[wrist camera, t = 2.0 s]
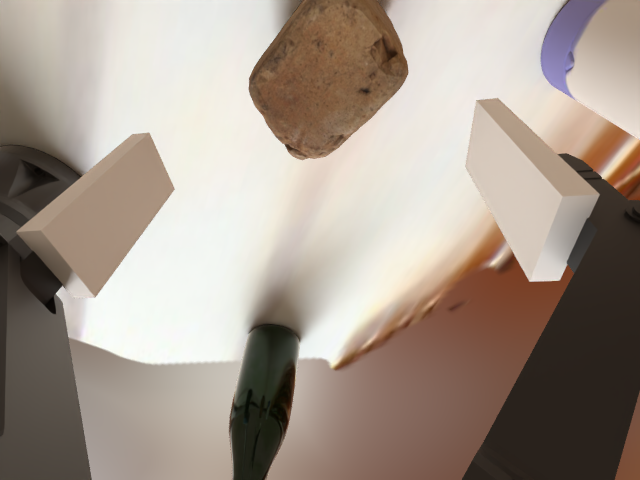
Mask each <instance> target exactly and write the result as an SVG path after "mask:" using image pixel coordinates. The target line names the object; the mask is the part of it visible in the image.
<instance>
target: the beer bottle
mask: <svg viewBox="0 0 640 480" xmlns="http://www.w3.org/2000/svg"><path fill="white" fill-rule="evenodd" d="M299 349H300V342H299V339H298V337H297V335H296V334H295V333H294V332H292V331H291V330H289V329H287V328H285V327H282V326H277V325H263V326H259V327H257V328H255V329H253V330H252V331H251V332H250V333H249V335H248V338H247V341H246V345H245V349H244V353H243V357H242V362H241V366H240V370H239V375H238V379H237V384H236V388H235V392H234V397H233V402H232V407H231V413H230V420H229V436H230V447H231V457H232V480H266V479H267V476H268V474H269V471H270V469H271V466H272V464H273V462H274V460H275V458H276V455H277V454H278V452H279V450H280V448H281V445H282V443H283V441H284V439H285V436H286V433H287V429H288V425H289V421H290V415H291V409H292V402H293V396H294V388H295V381H296V373H297V366H298V358H299Z"/></svg>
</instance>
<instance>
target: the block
mask: <svg viewBox="0 0 640 480" xmlns="http://www.w3.org/2000/svg"><path fill="white" fill-rule="evenodd" d="M407 75H408V65H407V60H406V58H405V57H404V54H403V48H402V44H401V42H400V39H399V37H398V35H397V33H396V31H395V29H394V27H393V24H392V22H391V20H390V19H389V17H388V16H387V14H386V13H385V11H384V10H383V8H382V7H381V5H380V4H379V3H378V1H377V0H303V1H302V3H301V4H300V5H299V7H298V8H297V9H296V11H295V12H294V13H293V15H292V16H291V17H290V19H289V20H288V21H287V23H286V24H285V25H284V27H283V28H282V29H281V31H280V32H279V33H278V35H277V36H276V38H275V39H274V40H273V42H272V43H271V44H270V46H269V47H268V48H267V50H266V51H265V52H264V54H263V55H262V57H261V58H260V59H259V61H258V62H257V64H256V65H255V67H254V69H253V71H252V73H251V75H250V78H249V92H250V96H251V98H252V100H253V103H254V105H255V107H256V108H257V109H258V110H259V112H260V113H261V114H262V115H263V117H264V119H265V121H266V123H267V125H268V126H269V128H270V129H271V131H272V132H273V133H274V135H275V136H276V137H277V138H278V139H279V140H280V141H281V142H282V143H283V144H285V146H286V148H287V150H288V152H289V153H290V154H291V155H292V156H293V157H295V158H297V159H301V160H304V159H307V158H313V159H316V158H321V157H325V156H327V155H328V154H330V153H331V152H333V151H334V150H336V149H337V148H339V147H340V146H341V145H342V144H343V143H344V142H345V141H346V140H347V139H348V138H349V137H350V136H351V135H352V134H353V133H354V132H356V131H357V130H358V129H359V128H360V127H361V126H362V125H363V124H365V123H366V122H367V121H368V120H369V119H371V118H372V117H373V116H374V115H375V114H376V112H377V111H378V110H379V109H380V108H381V107H382V106H383V105H384V104H385V103H386V102H387V101H388V100H389V99H390V98H391V97H392V96H393V95H394V94H395V93H396V92H397V91H398V90H399V89H400V88H401V86H402V85H403V83H404V81H405V79H406V77H407Z"/></svg>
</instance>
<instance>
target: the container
mask: <svg viewBox="0 0 640 480" xmlns="http://www.w3.org/2000/svg"><path fill="white" fill-rule="evenodd" d="M541 66H542V71H543V73H544V76H545V78H546V79H547V81H548V82H549V83H550V84H551V85H552V86H554V87H555V88H557V89H558V90H560V91H562V92H563V93H565V94H567V95H568V96H570V97H571V98H573V99H575V100H576V101H578V102H579V103H581V104H583V105H584V106H586V107H587V108H589V109H591V110H592V111H594V112H596V113H597V114H599V115H600V116H602V117H604V118H605V119H607V120H608V121H610V122H612V123H613V124H615V125H617V126H618V127H620V128H621V129H623V130H625V131H626V132H628V133H629V134H631V135H633V136H634V137H636V138H638V139H639V140H640V0H570V1H569V2H568V3H567V4H566V5H565V6H564V7H563V8H562V10H561V11H560V12H559V13H558V15H557V16H556V18H555V19H554V21H553V22H552V24H551V26H550V28H549V30H548V32H547V34H546V37H545V39H544V43H543V46H542V52H541Z"/></svg>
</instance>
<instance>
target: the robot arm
mask: <svg viewBox="0 0 640 480" xmlns="http://www.w3.org/2000/svg"><path fill="white" fill-rule="evenodd" d="M465 167H466V169H467V171H468V173H469V175H470V176H471V178H472V180H473V182H474V183H475V185H476V187H477V189H478V191H479V192H480V194H481V196H482V198H483V199H484V201H485V203H486V205H487V207H488V208H489V210H490V212H491V214H492V215H493V217H494V219H495V221H496V223H497V224H498V226H499V228H500V230H501V231H502V233H503V235H504V237H505V239H506V240H507V242H508V244H509V246H510V247H511V249H512V251H513V253H514V255H515V256H516V258H517V260H518V262H519V263H520V265H521V267H522V269H523V271H524V272H525V274H526V276H527V278H528V279H529V281H557V280H560V279H561V276H562V274H563V272H564V270H565V268H566V266H567V264H568V265H569V267H570V268H571V269H572V271H573V272H574V275H573V277H572V279H571V280H570V282H569V284H568V286H567V288H566V290H565V292H564V294H563V295H562V297H561V299H560V301H559V303H558V305H557V306H556V308H555V310H554V312H553V314H552V316H551V318H550V320H549V321H548V323H547V325H546V327H545V329H544V331H543V332H542V334H541V336H540V338H539V340H538V342H537V344H536V345H535V347H534V349H533V351H532V353H531V355H530V357H529V358H528V360H527V362H526V364H525V366H524V368H523V370H522V371H521V373H520V375H519V377H518V379H517V381H516V383H515V384H514V386H513V388H512V390H511V392H510V394H509V396H508V398H507V399H506V401H505V403H504V405H503V407H502V409H501V410H500V412H499V414H498V416H497V418H496V420H495V422H494V424H493V425H492V427H491V429H490V431H489V433H488V435H487V436H486V438H485V440H484V442H483V444H482V445H481V447H480V449H479V450H478V452H477V453H476V455H475V457H474V458H473V460H472V462H471V464H470V466H469V467H468V470H467V471H466V473H465V475H464V477H463V478H462V480H615V476H616V472H617V469H618V466H619V462H620V459H621V455H622V451H623V448H624V444H625V441H626V437H627V434H628V430H629V427H630V423H631V420H632V416H633V413H634V409H635V405H636V402H637V398H638V395H639V391H640V201H639V200H628V199H626V198H625V197H624V196H623V195H622V194H621V193H619V192H618V191H617V190H616V189H615V188H614V187H613V186H611V185H610V184H609V183H608V182H607V181H606V180H604V179H602V177H601V176H600V175H599V174H598V173H596V172H593V169H592V168H591V167H589V166H588V165H587V164H586V163H585V162H584V161H582V160H580V159H578V158H576V157H573V156H571V155H569V154H567V153H566V154H557V153H555V152H554V151H553V150H552V149H551V148H550V147H549V146H548V145H547V144H546V143H545V142H544V141H543V140H542V139H541V138H540V137H539V136H537V135H536V134H535V133H534V132H533V131H532V130H531V129H530V128H529V127H528V126H527V125H526V124H525V123H524V122H523V121H522V120H520V119H519V118H518V117H517V116H516V115H515V114H514V113H513V112H512V111H511V110H510V109H509V108H508V107H507V106H506V105H505V104H503V103H502V102H501V101H500V100H499V99H498V98H495V99H485V100H476V105H475V111H474V117H473V123H472V129H471V135H470V141H469V147H468V153H467V159H466V165H465ZM173 191H174V187H173V184H172V182H171V180H170V178H169V175H168V173H167V171H166V169H165V167H164V164H163V162H162V160H161V158H160V155H159V153H158V151H157V149H156V147H155V144H154V142H153V140H152V138H151V136H150V133H142V134H132V135H131V136H130V137H129V138H128V139H126V140H125V141H124V142H123V143H122V144H120V145H119V146H118V147H117V148H116V149H114V150H113V151H112V152H111V153H110V154H108V155H107V156H106V157H105V158H104V159H102V160H101V161H100V162H99V163H98V164H96V165H95V166H94V167H93V168H92V169H90V170H89V171H88V172H87V173H86V174H84V175H83V176H82V177H80V176H79V175H78V174H76V173H75V172H74V171H73V170H72V169H71V168H69V167H68V166H67V165H65V164H64V163H62V162H61V161H59V160H57V159H56V158H54V157H52V156H50V155H48V154H46V153H43V152H41V151H38V150H35V149H32V148H29V147H24V146H17V145H6V146H0V480H92V479H91V473H90V467H89V460H88V455H87V449H86V442H85V436H84V430H83V424H82V418H81V412H80V406H79V400H78V394H77V388H76V383H75V376H74V370H73V364H72V358H71V351H70V346H69V339H68V333H67V327H66V321H65V315H64V309H63V303H62V301H61V300H60V298H59V297H58V296H57V295H56V292H57V291H58V290H59V289H60V288H61V287H62V285H63V287H64V288H65V289H66V290H67V291H68V292H69V294H70V295H71V296H72V297H73V298H95V297H96V296H97V294H98V293H99V292H100V290H101V289H102V288H103V286H104V285H105V283H106V282H107V281H108V279H109V278H110V277H111V275H112V274H113V273H114V271H115V270H116V268H117V267H118V266H119V264H120V263H121V262H122V260H123V259H124V258H125V256H126V255H127V254H128V252H129V251H130V249H131V248H132V247H133V245H134V244H135V243H136V241H137V240H138V239H139V237H140V236H141V234H142V233H143V232H144V230H145V229H146V228H147V226H148V225H149V224H150V222H151V221H152V219H153V218H154V217H155V215H156V214H157V213H158V211H159V210H160V209H161V207H162V206H163V204H164V203H165V202H166V200H167V199H168V198H169V196H170V195H171V194H172V192H173Z"/></svg>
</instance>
